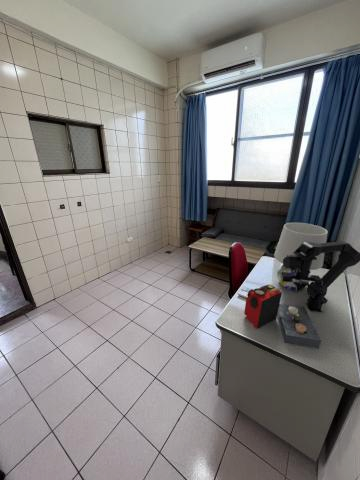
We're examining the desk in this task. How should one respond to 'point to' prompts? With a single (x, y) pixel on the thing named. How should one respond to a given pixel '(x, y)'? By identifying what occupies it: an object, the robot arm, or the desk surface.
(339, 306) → the desk surface
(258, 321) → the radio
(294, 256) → the robot arm
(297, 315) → the black and brass dome
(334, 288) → the desk surface
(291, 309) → the knob
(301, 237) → the table lamp
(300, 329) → the knob
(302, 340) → the panel
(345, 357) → the desk surface
